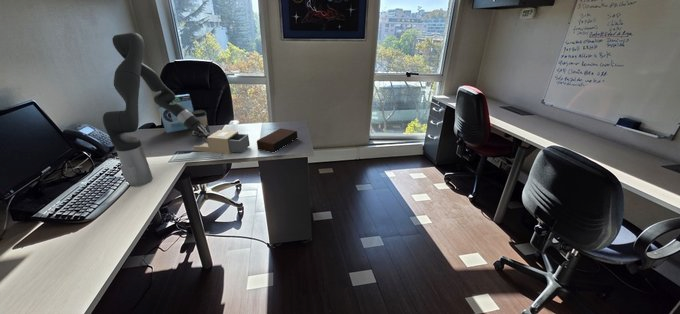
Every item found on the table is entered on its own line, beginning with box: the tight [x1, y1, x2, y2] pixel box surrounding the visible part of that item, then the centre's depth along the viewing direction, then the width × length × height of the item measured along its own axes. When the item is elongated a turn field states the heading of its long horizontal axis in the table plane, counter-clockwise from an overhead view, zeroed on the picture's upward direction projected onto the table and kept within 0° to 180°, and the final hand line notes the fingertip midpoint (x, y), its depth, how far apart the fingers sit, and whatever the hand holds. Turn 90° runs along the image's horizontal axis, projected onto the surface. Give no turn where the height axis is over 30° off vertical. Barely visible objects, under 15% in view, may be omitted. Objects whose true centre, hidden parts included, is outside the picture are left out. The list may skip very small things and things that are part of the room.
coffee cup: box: [191, 109, 208, 126], centre depth 180 cm, size 9×9×15 cm
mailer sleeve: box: [193, 129, 239, 155], centre depth 161 cm, size 12×22×9 cm, turn 79°
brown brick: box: [256, 127, 298, 153], centre depth 167 cm, size 24×12×6 cm, turn 154°
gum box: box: [157, 93, 194, 134], centre depth 186 cm, size 20×5×23 cm, turn 123°
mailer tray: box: [207, 133, 251, 153], centre depth 160 cm, size 10×20×7 cm, turn 79°
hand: (212, 140), depth 161 cm, fingers closed
